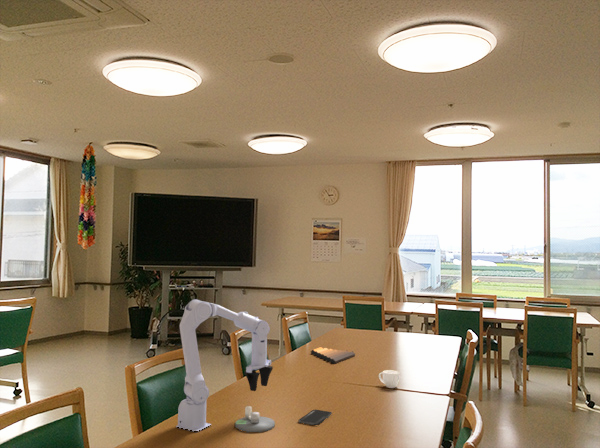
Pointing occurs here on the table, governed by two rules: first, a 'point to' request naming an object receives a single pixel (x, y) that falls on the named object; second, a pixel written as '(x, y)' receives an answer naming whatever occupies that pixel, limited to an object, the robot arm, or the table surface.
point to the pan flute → (332, 355)
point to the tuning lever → (251, 414)
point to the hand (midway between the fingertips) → (258, 388)
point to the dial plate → (255, 424)
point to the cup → (390, 378)
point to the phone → (315, 417)
